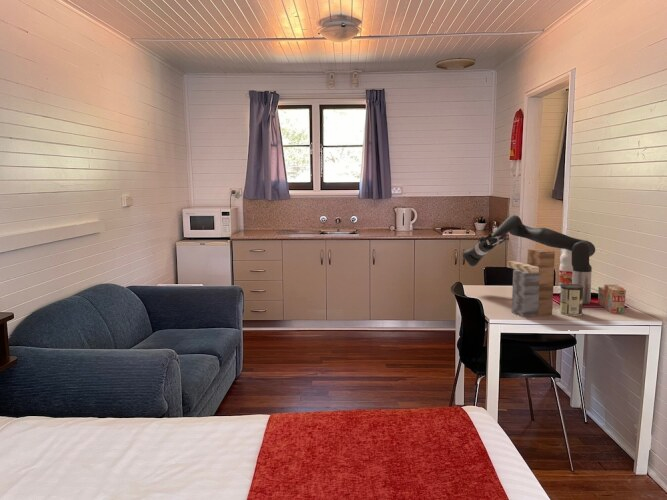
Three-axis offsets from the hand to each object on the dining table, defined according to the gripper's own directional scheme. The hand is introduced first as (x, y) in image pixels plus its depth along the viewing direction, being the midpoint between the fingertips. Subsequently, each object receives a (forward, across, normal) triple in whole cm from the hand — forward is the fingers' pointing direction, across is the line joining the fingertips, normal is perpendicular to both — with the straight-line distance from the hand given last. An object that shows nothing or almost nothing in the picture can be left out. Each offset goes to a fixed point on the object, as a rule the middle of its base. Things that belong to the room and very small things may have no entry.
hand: (498, 235), depth 279 cm
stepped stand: (+6, +2, +46) cm, 47 cm away
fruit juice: (-30, +56, +26) cm, 69 cm away
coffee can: (+10, +21, +49) cm, 54 cm away
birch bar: (+14, -2, +26) cm, 29 cm away
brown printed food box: (+8, +47, +48) cm, 68 cm away
